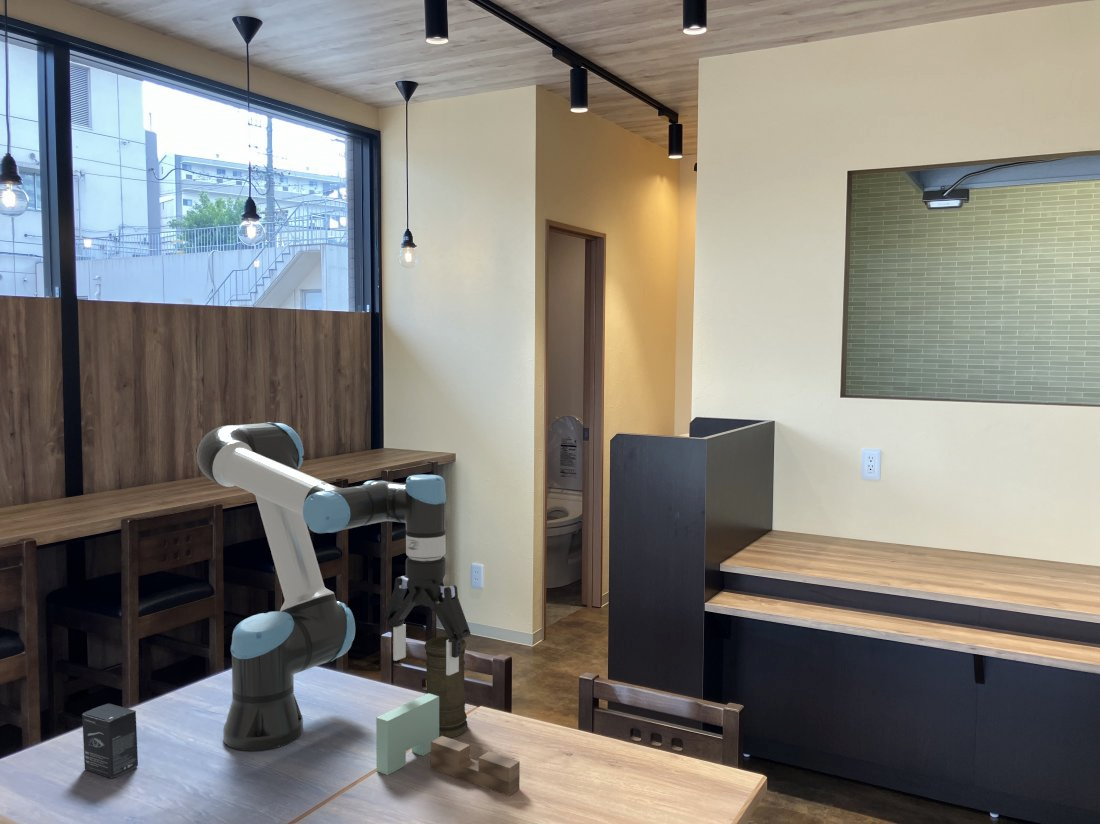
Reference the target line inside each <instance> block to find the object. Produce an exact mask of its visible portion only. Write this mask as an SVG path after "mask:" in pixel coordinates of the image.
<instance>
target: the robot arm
mask: <svg viewBox="0 0 1100 824" xmlns="http://www.w3.org/2000/svg"><path fill="white" fill-rule="evenodd" d="M303 446H304V445H303V442H302V440H301V437H300V436H299V434H298V433H297V432H296V431H295V430H294V429H293V428H292V427H291V426H288V425H287V424H285V423H281V422H269V421H267V422H266V421H265V422H263V423H261V422H260V423H249V424H247V423H246V424H234V425H233V424H230V425H222V426H219V427H216V428H214V429H212V430H210V431H209V432H207V433H206V434H205V436H203V438H202V439H201V441H200V442H199V444H198V448H197V450H196V462H197V466H198V467H199V470H200V471H201V473H203V475H204V476H205V477H206V478H208V479H209V480H211V481H212V482H214V483H216V484H219V485H221V486H222V487H227V488H232V487H238V488H240V489H242V490H245V491H246V492H249V493H251V494H253V495H254V496H255V500H256V503H257V506H258V510H259V513H260V517H261V521H262V524H263V528H264V531H265V535H266V538H267V543H268V546H269V548H270V551H271V556H272V560H273V563H274V567H275V571H276V574H277V578H278V581H279V584H280V589H281V591H282V595H283V598H284V602H283V604H282V605H281V608H280V610H279V611H276V610H275V611H268V612H265V613H264V612H262V613H257V614H254V615H251V616H249V617H247V618H245V619H243V620H241V621H240V622H239V623H238V624H236V626H235V627H234V628H233V631H232V635H231V637H232V638H231V645H230V653H231V683H232V684H231V685H232V687H231V689H232V695H231V696H232V697H231V698H232V699H231V704H230V707H229V711H228V714H227V717H226V720H225V721H226V722H225V724H223V725H224V726H223V733H222V735H223V736H222V737H223V739H224V740H223V743H224V742H225V743H226V744H227V745H228V746H227V745H226V744H225V743H224V744H225V745H226V746H227V747H229V748H231V749H234V748H235V749H234V750H238V751H247V752H248V751H250V752H251V751H256V752H257V751H265V750H271V749H275V748H279V747H282V746H285V745H288V744H290V743H292V742H293V741H296V740H297V739H298V738H300V736H301V735H302V734H303V731H304V720H303V715H302V713H301V709H300V707H299V704H298V701H297V699H296V696H295V693H294V692H295V691H294V681H295V680H294V679H295V677H294V675H295V674H298V673H300V672H304V671H307V670H310V669H311V668H315V667H317V666H320V665H323V664H327V663H330V662H334V660H336V659H338V658H340V657H343V656H344V655H345V654H346V653H348V651H349V650H350V649H351V647H352V645H353V641H354V639H355V636H356V622H355V617H354V615H353V612H352V610H351V609H350V607H348V606H347V604H345V603H344V602H341V601H337V598H336V595H335V592H334V591H332V590H330V589H328V588H326V587H325V583H324V580H323V577H322V573H321V570H320V565H319V563H318V560H317V556H316V551H315V549H314V546H313V542H312V539H311V536H310V535H311V534H310V531H309V530H311V532H313V533H315V534H316V533H317V534H326V533H329V534H331V533H332V534H333V533H337V532H340V531H343V530H349V529H353V528H358V527H361V526H368V525H372V524H377V523H382V522H395V523H396V522H397V523H400V524H401V523H403V524H405V554H406V556H407V558H406V559H405V575H402V576H398V577H395V580H394V588H393V592H392V593H391V596H390V599H389V600H388V603H387V606H386V609H385V612H384V614H383V616H382V620H383V621H384V622H388V623H389V625H390V631H391V632H390V634H391V638H390V639H391V641H392V643H393V645H392V646H393V649H392V651H393V652H392V653H393V654H392V655H393V656H392V657H393V658H392V659H393V661H394V662H395V661H396V662H397V661H399V660H402V659H405V658H406V656H407V651H406V650H407V646H406V645H407V643H406V642H407V632H406V630H407V628H406V627H407V624H406V623H405V619H406V618H407V617H408V615H409V614H410V613H411V611H412V610H413V608H414V607H415V606H416V605H419V606H420V605H422V606H423V607H427V608H429V609H431V611H433V612H434V614H435V615H436V617H437V618H438V621H439V622H440V624H441V626H442V628H443V629H444V631H445V633H446V634H447V636H449V638H450V639H449V640H447V641H446V675H449V676H450V675H452V674H454V673H456V672H458V671H459V656H461V640H462V639H463V640H465V638H467V637H468V638H469V637H470V636H471V634H472V633H471V630H470V627H469V625H468V622H467V619H466V617H465V612H464V610H463V608H462V605H461V602H460V600H459V595H458V594H459V593H458V587H457V585H456V584H453V585H449V586H447V585H444V584H445V583H444V578H445V576H446V558H445V555H446V547H447V545H446V539H447V538H446V509H447V507H446V506H447V494H446V493H447V492H446V480H445V478H444V477H442V476H441V475H437V474H413V475H409V476H408V477H406V480H405V483H402V482H401V483H400V482H393V481H386V480H384V479H383V480H367V481H365V482H364V483H363V484H362V485H359V486H350V487H344V488H343V487H338V486H336V485H333V484H330V483H329V482H326V481H323V480H322V479H319V478H317V477H314V476H311V475H309V474H307V473H305V472H302V471H299V469H300V468H301V467H302V464H303V462H304V458H303V456H304V454H305V452H304V447H303ZM308 527H309V528H308ZM407 590H408V591H407ZM407 592H408V593H407ZM406 594H407V595H406ZM405 595H406V597H405ZM403 600H404V601H403ZM404 623H405V624H404Z"/></svg>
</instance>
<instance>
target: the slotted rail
mask: <svg viewBox="0 0 1100 824" xmlns="http://www.w3.org/2000/svg"><path fill="white" fill-rule="evenodd" d="M520 764H521V763H520V760H516V759H513V758H511V757H508V756H504V755H501V754H499V753H496V752H492V751H487V752H485V753H484V754H483V755H480V756H479V757H478V760H475V759H473V758H471V745H470V744H468V743H465V742H462V741H460V740H459V741H458V740H456V739H453V738H451V737H448V738H447V737H444V736H440V737H438V738H437V739H435V740H433V741H431V752H430V769H432V770H435V771H438V772H440V773H444V774H447V775H448V776H452V777H455V778H458V779H460V780H463V781H465V782H469V783H472V784H473V785H474V784H475V785H477V786H478V787H482V788H485V789H487V790H492V791H493V792H495V793H499V794H502V795H505V796H507V797H511V796H512V795H513V794H515V793H516V792H517V791H519V790H520V776H521V775H520V772H521V771H520V769H521V768H520V766H521V765H520Z"/></svg>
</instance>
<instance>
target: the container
mask: <svg viewBox="0 0 1100 824" xmlns="http://www.w3.org/2000/svg"><path fill="white" fill-rule="evenodd" d="M449 639H450V638H449V636H448V635H447V636H439V637H438V636H437V637H436V636H435V637H433V638H430V639H428V640H426V641H425V643H424V649H425V654H426V663H425V666H426V694H428V693H429V694H433V695H436V696H439V737H440V736H444V737H447V738H453V737H458V736H461V735H462V734H464V733H465V732H466V731H467V730H468V729H467V728H468V721H467V718H468V717H467V714H466V699H465V663H466V662H465V652H466V650H465V649H466V647H467V642H466V640H465V639H462V640H461V656H459V671H458V672H456V673H454V674H452V675H450V676H449V675H446V641H447V640H449Z"/></svg>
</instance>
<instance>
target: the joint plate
mask: <svg viewBox="0 0 1100 824" xmlns="http://www.w3.org/2000/svg"><path fill="white" fill-rule="evenodd" d="M375 721H376V724H375V725H376V726H375V727H376V732H375V733H376V735H375V736H376V739H375V740H376V747H375V748H376V772H379V773H381V774H383V775H386V776H389V775H390V774H392V773H394V772H396V771H398V770H399V769H401V768H403V767H406V765H407V764H406V763H407V755H406V754H407V751H409V750H410V749H411V753H414V754H416V755H419V756H422V757H423V756H425V755H427V754H428V753H431V741H433V740H435V739H437V738H438V737H439V696H436V695H433V694H429V693H428V694H427V693H426V694H424V695H422V696H419V697H417V698H415V699H413V700H410V701H409V702H406V703H404V704H402V705H400V706H398V707H395V708H393V709H391V710H389V711H387V712H386V713H383V714H381V715H379V716H377V717H376V720H375Z"/></svg>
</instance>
